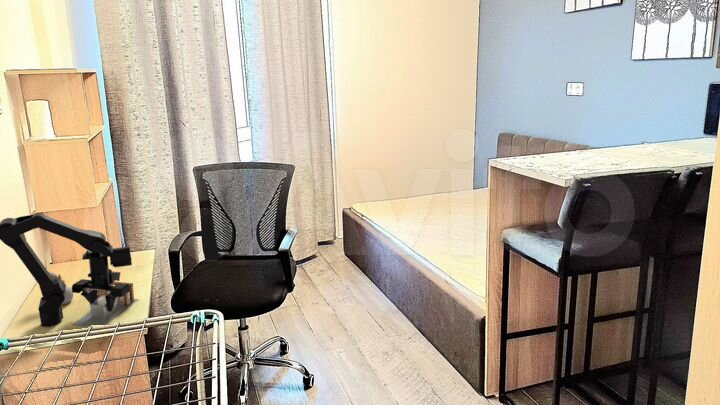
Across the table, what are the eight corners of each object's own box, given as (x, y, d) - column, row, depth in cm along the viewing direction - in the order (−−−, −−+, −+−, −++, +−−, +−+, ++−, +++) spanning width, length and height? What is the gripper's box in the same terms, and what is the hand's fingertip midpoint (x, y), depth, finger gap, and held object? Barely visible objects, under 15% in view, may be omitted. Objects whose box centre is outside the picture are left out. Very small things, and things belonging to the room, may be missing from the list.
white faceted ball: (70, 307, 184) (66, 277, 181) (40, 309, 182) (36, 278, 179) (77, 298, 191) (73, 269, 188) (49, 299, 190) (45, 270, 186)
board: (101, 330, 170) (101, 328, 169) (71, 327, 171) (71, 325, 171) (139, 301, 191) (139, 299, 191) (112, 298, 192) (112, 296, 192)
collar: (127, 306, 185) (125, 288, 183) (103, 304, 186) (102, 285, 184) (128, 305, 186) (127, 287, 184) (105, 302, 187) (103, 284, 185)
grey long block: (105, 318, 176) (103, 304, 174) (91, 317, 176) (89, 303, 175) (130, 300, 190) (129, 287, 189) (117, 298, 191) (115, 285, 189)
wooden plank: (102, 304, 188) (100, 281, 185) (100, 303, 188) (97, 281, 186) (106, 301, 190) (104, 279, 187) (103, 301, 190) (101, 279, 187)
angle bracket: (132, 302, 188) (131, 284, 186) (109, 299, 189) (108, 282, 188) (134, 301, 189) (132, 283, 187) (111, 298, 190) (109, 280, 189)
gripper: (137, 262, 181) (141, 302, 185) (89, 258, 184) (93, 298, 188) (119, 274, 171) (123, 317, 175) (68, 270, 173) (73, 311, 177)
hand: (103, 310), depth 179 cm, fingers closed on grey long block, 5 cm apart
